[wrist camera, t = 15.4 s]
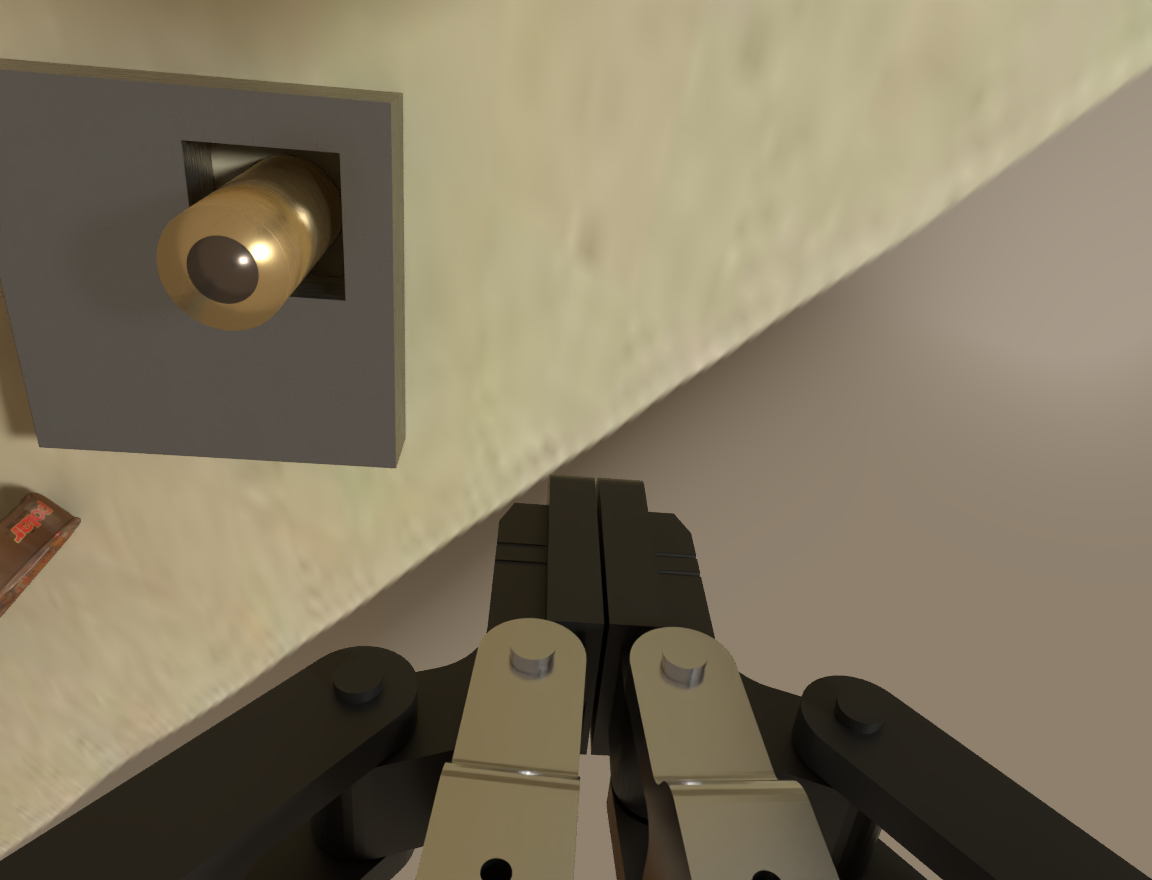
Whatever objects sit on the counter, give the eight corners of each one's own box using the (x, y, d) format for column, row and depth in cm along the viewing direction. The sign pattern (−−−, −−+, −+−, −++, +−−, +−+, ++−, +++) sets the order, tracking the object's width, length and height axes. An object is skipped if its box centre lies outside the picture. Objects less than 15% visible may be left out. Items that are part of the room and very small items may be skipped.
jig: (-4, 57, 35) (-50, 65, 32) (402, 93, 36) (391, 102, 33) (71, 417, 42) (39, 447, 40) (405, 437, 43) (395, 468, 41)
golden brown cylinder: (234, 150, 37) (147, 200, 29) (340, 159, 37) (283, 210, 29) (244, 253, 39) (165, 326, 31) (344, 261, 39) (292, 335, 31)
